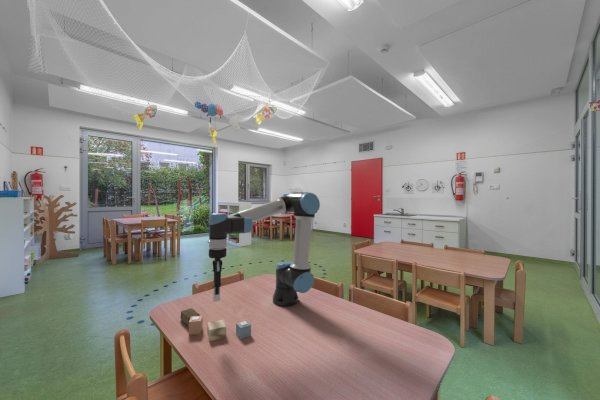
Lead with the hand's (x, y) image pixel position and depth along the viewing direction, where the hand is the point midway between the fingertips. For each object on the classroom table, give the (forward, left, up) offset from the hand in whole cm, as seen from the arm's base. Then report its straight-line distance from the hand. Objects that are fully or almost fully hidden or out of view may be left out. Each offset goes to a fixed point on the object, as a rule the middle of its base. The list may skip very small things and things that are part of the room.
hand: (216, 300), depth 113 cm
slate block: (-11, +4, -16) cm, 20 cm away
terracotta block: (+9, -6, -16) cm, 19 cm away
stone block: (+11, -16, -16) cm, 25 cm away
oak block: (0, 0, -16) cm, 16 cm away
